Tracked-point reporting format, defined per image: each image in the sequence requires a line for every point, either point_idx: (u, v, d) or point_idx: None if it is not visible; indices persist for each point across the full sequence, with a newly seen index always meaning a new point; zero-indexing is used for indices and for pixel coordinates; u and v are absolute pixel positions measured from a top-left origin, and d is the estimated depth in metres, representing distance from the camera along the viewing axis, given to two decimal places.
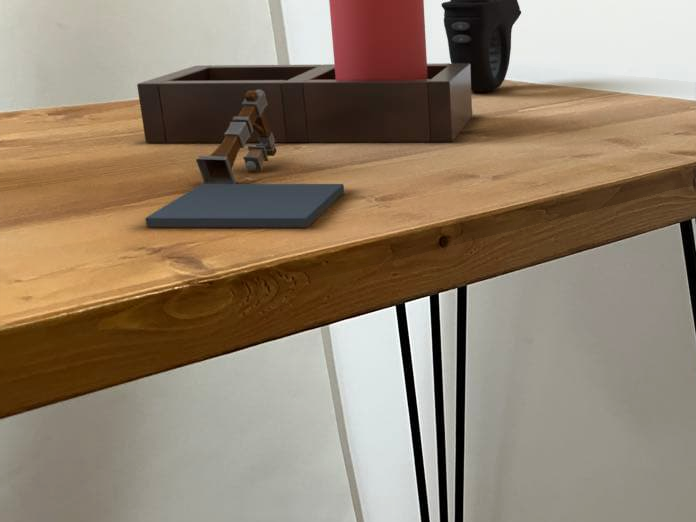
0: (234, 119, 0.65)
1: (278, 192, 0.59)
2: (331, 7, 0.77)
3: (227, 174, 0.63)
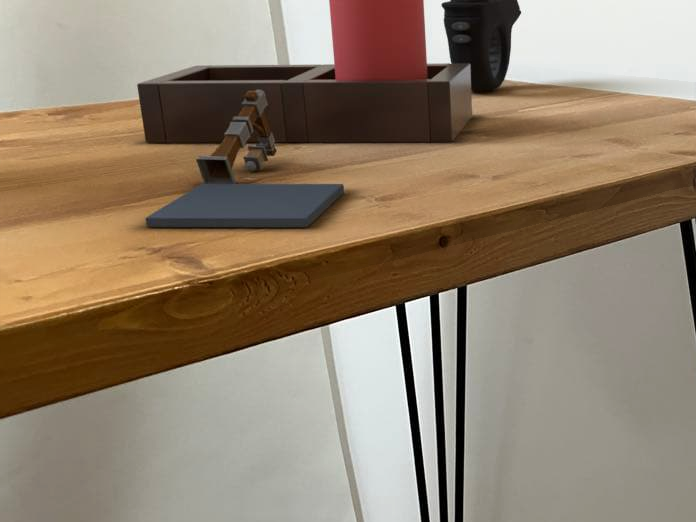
0: (234, 119, 0.65)
1: (278, 192, 0.59)
2: (331, 7, 0.77)
3: (227, 174, 0.63)
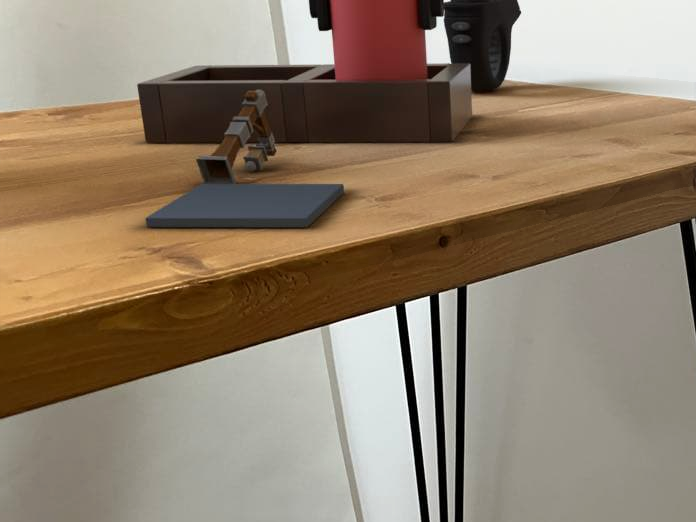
0: (234, 119, 0.65)
1: (278, 192, 0.59)
2: (331, 7, 0.77)
3: (227, 174, 0.63)
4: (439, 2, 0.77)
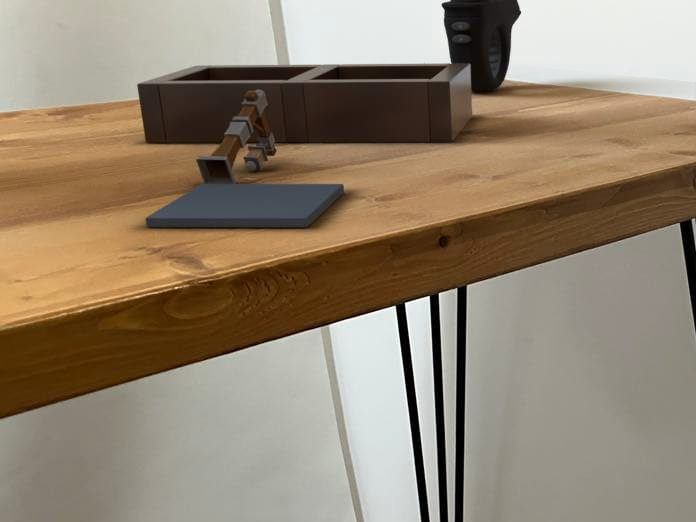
0: (234, 119, 0.65)
1: (278, 192, 0.59)
2: None
3: (227, 174, 0.63)
4: None
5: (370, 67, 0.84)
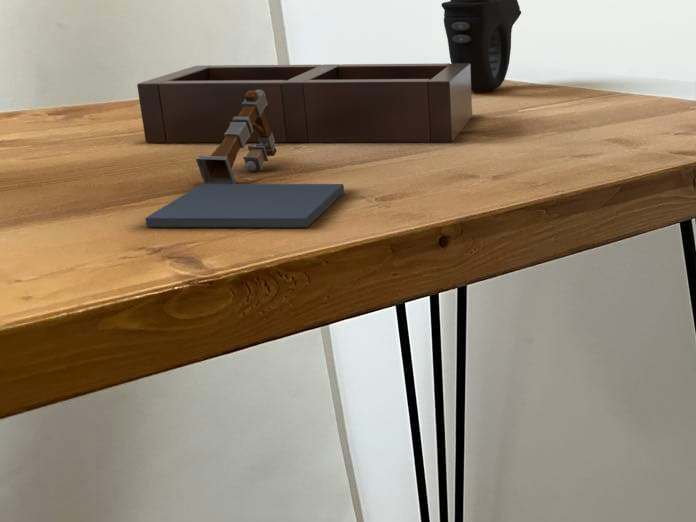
0: (234, 119, 0.65)
1: (278, 192, 0.59)
2: None
3: (227, 174, 0.63)
4: None
5: (370, 67, 0.84)
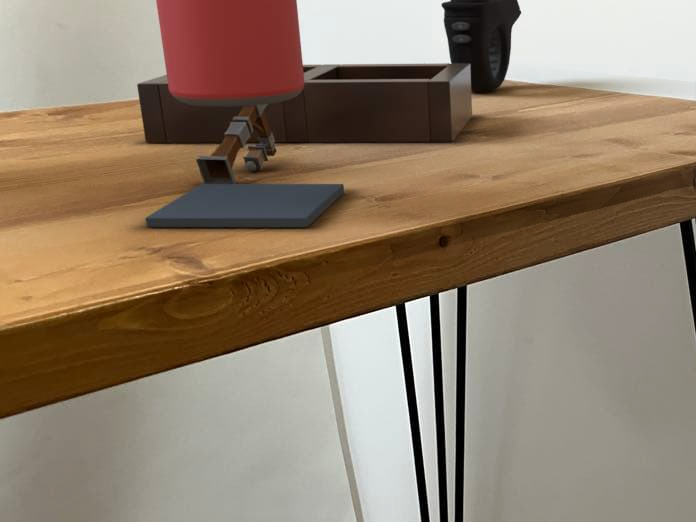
0: (234, 119, 0.65)
1: (278, 192, 0.59)
2: None
3: (227, 174, 0.63)
4: None
5: (370, 67, 0.84)
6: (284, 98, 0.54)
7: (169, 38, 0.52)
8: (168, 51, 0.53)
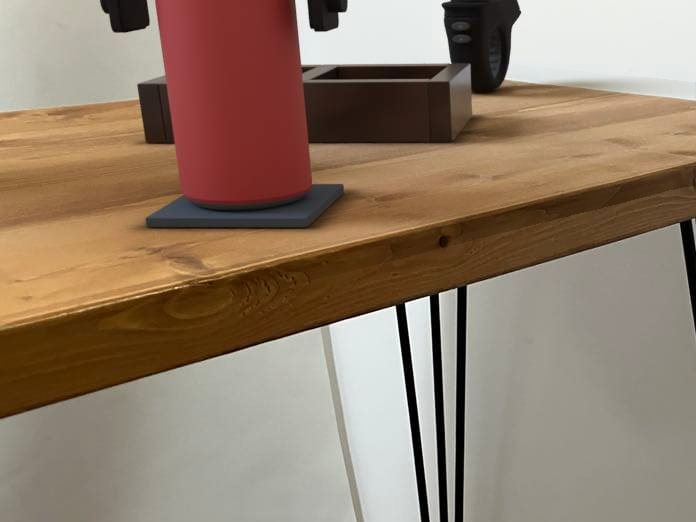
0: None
1: None
2: (159, 28, 0.53)
3: None
4: None
5: (370, 67, 0.84)
6: (293, 201, 0.56)
7: (182, 146, 0.54)
8: (181, 158, 0.55)
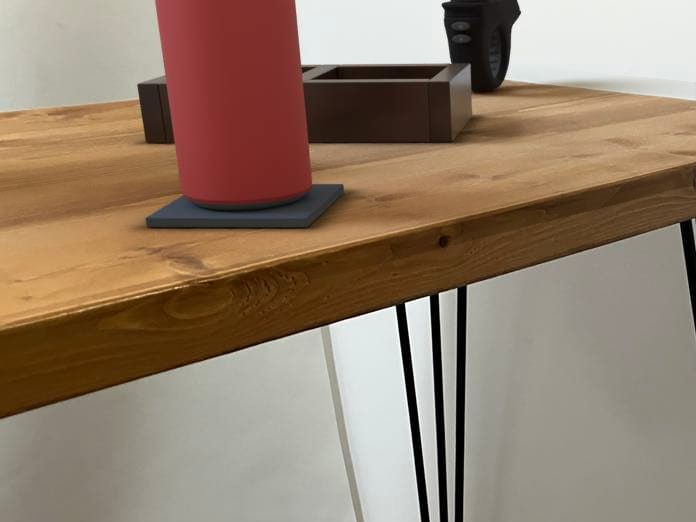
0: None
1: None
2: (159, 28, 0.53)
3: None
4: None
5: (370, 67, 0.84)
6: (293, 201, 0.56)
7: (182, 146, 0.54)
8: (181, 158, 0.55)
